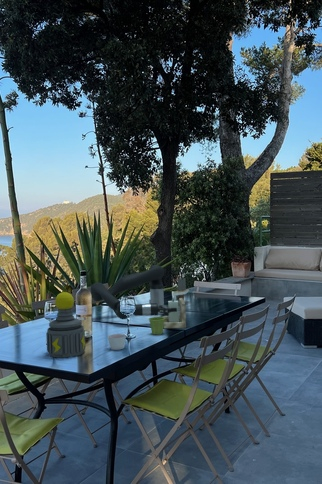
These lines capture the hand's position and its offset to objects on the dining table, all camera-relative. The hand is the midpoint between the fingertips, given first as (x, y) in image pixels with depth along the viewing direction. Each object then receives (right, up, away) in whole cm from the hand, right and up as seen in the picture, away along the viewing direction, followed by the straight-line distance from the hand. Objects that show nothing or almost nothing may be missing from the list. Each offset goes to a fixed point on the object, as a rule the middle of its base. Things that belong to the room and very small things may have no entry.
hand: (176, 308), depth 302 cm
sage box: (-2, -10, 0) cm, 10 cm away
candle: (-31, -13, -55) cm, 65 cm away
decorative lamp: (-56, -14, -61) cm, 84 cm away
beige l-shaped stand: (-2, -10, 0) cm, 10 cm away
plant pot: (-11, -11, -25) cm, 30 cm away
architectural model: (+6, -7, +73) cm, 73 cm away
